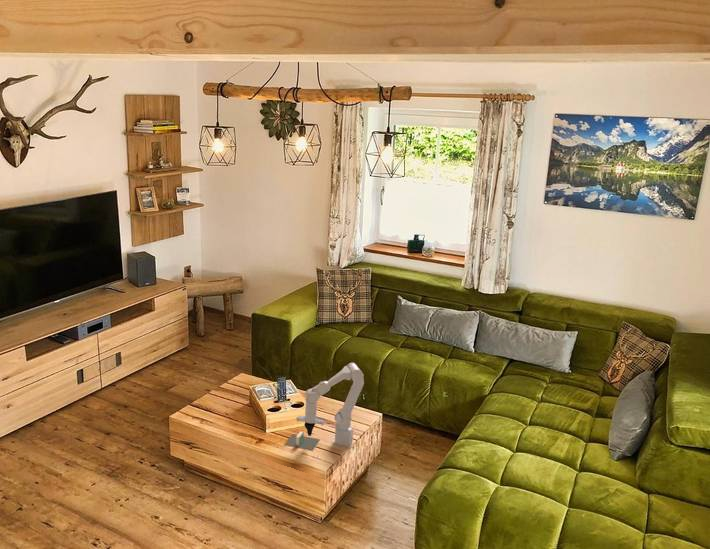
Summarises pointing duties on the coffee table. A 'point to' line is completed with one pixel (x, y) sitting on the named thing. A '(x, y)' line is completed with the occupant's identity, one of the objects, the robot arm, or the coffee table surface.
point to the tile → (299, 438)
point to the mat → (306, 444)
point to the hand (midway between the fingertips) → (309, 434)
